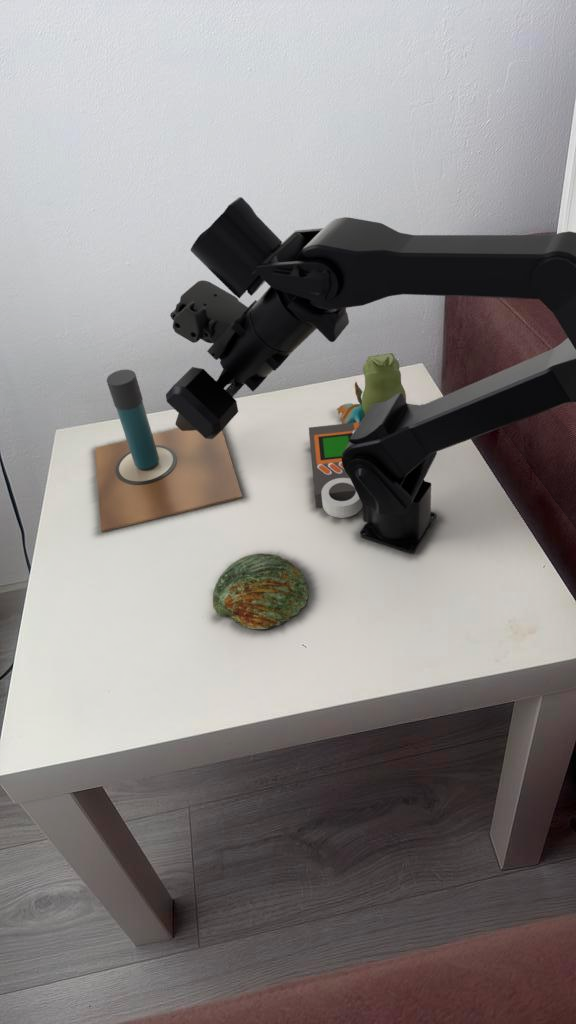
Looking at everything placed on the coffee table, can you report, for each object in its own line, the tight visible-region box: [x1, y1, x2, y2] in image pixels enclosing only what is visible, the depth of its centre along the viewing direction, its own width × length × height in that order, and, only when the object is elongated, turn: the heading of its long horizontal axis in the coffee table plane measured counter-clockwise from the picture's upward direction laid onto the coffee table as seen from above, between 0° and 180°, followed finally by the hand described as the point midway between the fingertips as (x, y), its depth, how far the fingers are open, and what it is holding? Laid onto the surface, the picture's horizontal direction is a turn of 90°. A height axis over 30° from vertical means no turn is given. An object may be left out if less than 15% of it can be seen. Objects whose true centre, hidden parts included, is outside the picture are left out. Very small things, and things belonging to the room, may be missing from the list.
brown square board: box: [94, 428, 243, 533], centre depth 93 cm, size 17×17×1 cm
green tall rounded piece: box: [361, 352, 407, 415], centre depth 92 cm, size 6×5×10 cm
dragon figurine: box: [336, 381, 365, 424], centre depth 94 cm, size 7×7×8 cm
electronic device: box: [308, 422, 362, 519], centre depth 88 cm, size 7×3×15 cm
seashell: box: [212, 553, 309, 630], centre depth 75 cm, size 10×4×10 cm
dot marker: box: [106, 369, 159, 471], centre depth 90 cm, size 3×3×13 cm
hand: (201, 403), depth 82 cm, fingers open, 9 cm apart
